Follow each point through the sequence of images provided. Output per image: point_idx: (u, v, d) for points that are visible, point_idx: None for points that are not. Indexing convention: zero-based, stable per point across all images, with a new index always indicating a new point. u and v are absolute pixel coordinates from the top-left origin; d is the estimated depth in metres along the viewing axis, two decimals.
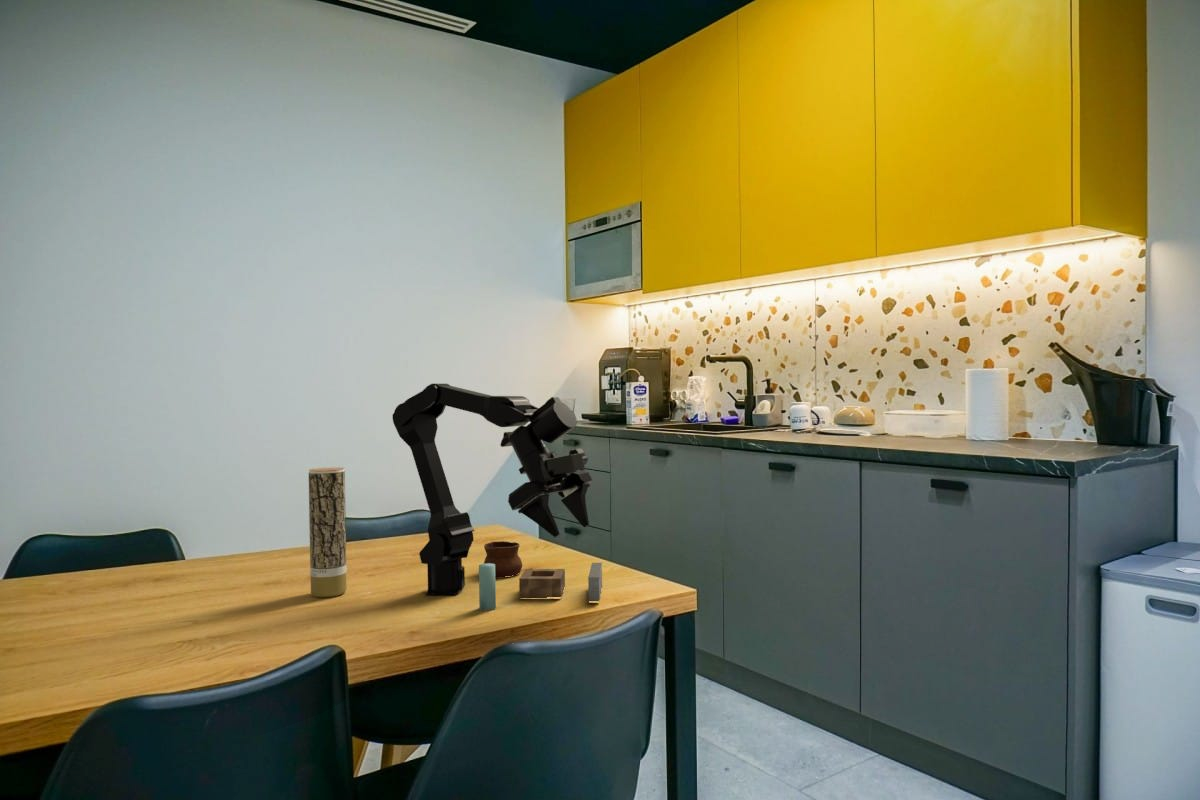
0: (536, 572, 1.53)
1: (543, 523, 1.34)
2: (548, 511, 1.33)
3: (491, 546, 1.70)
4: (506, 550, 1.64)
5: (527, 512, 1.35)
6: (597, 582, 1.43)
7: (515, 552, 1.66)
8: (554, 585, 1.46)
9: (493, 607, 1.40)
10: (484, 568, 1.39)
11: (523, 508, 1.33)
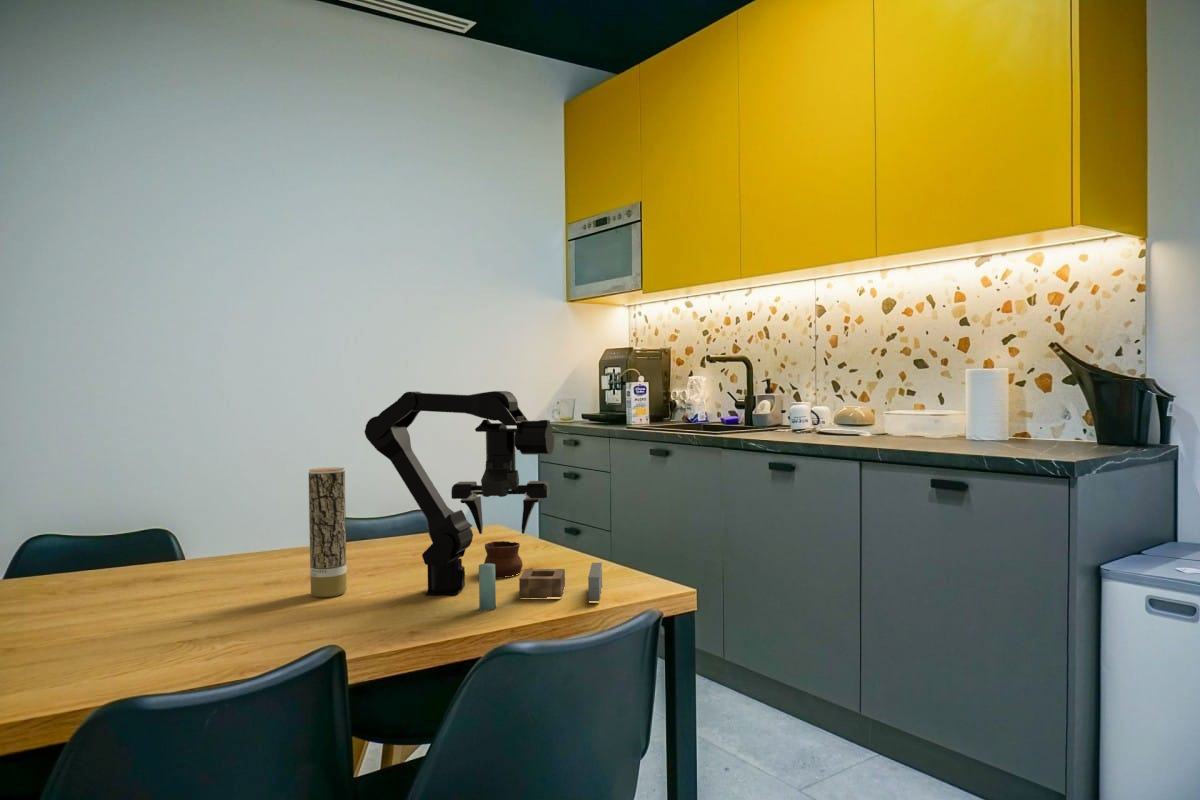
0: (536, 572, 1.53)
1: None
2: (475, 512, 1.50)
3: (491, 546, 1.70)
4: (506, 550, 1.64)
5: None
6: (597, 582, 1.43)
7: (516, 552, 1.66)
8: (554, 585, 1.46)
9: (493, 607, 1.40)
10: (484, 568, 1.39)
11: None
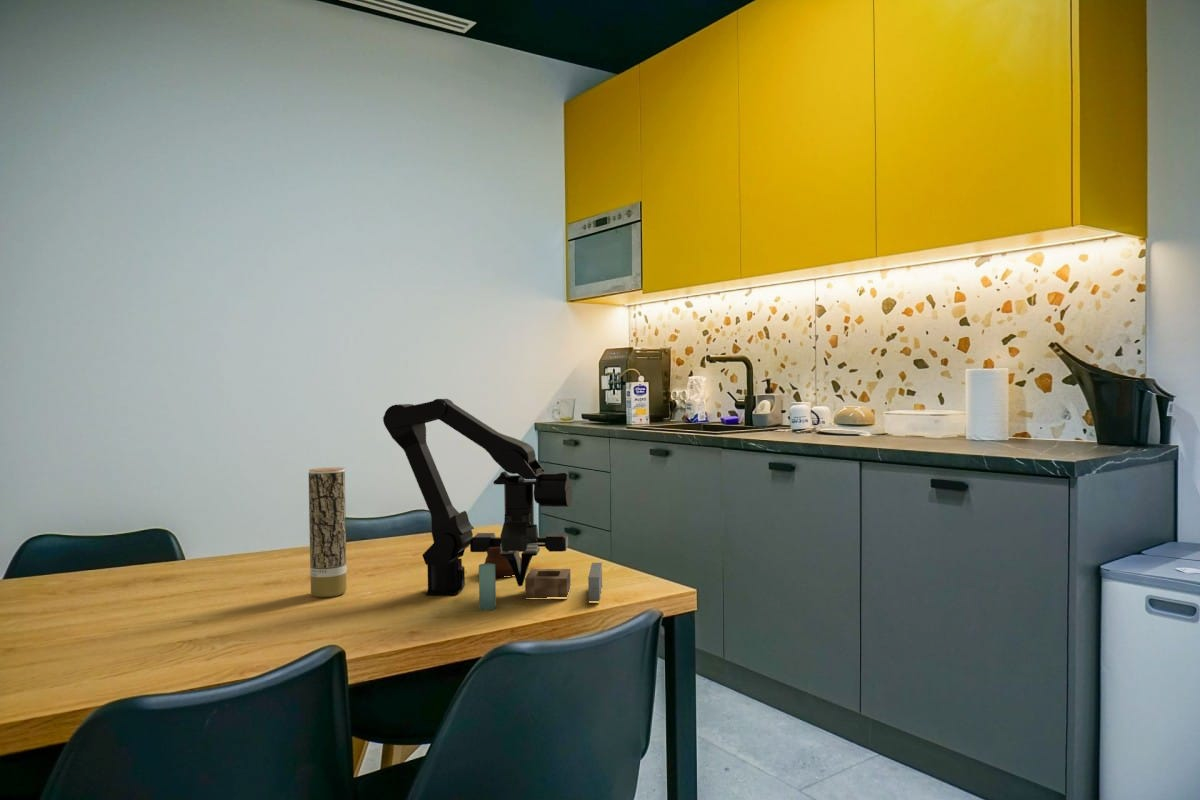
0: (542, 572, 1.53)
1: None
2: (514, 565, 1.49)
3: None
4: None
5: None
6: (597, 582, 1.43)
7: None
8: (560, 585, 1.46)
9: (493, 607, 1.40)
10: (484, 568, 1.39)
11: None
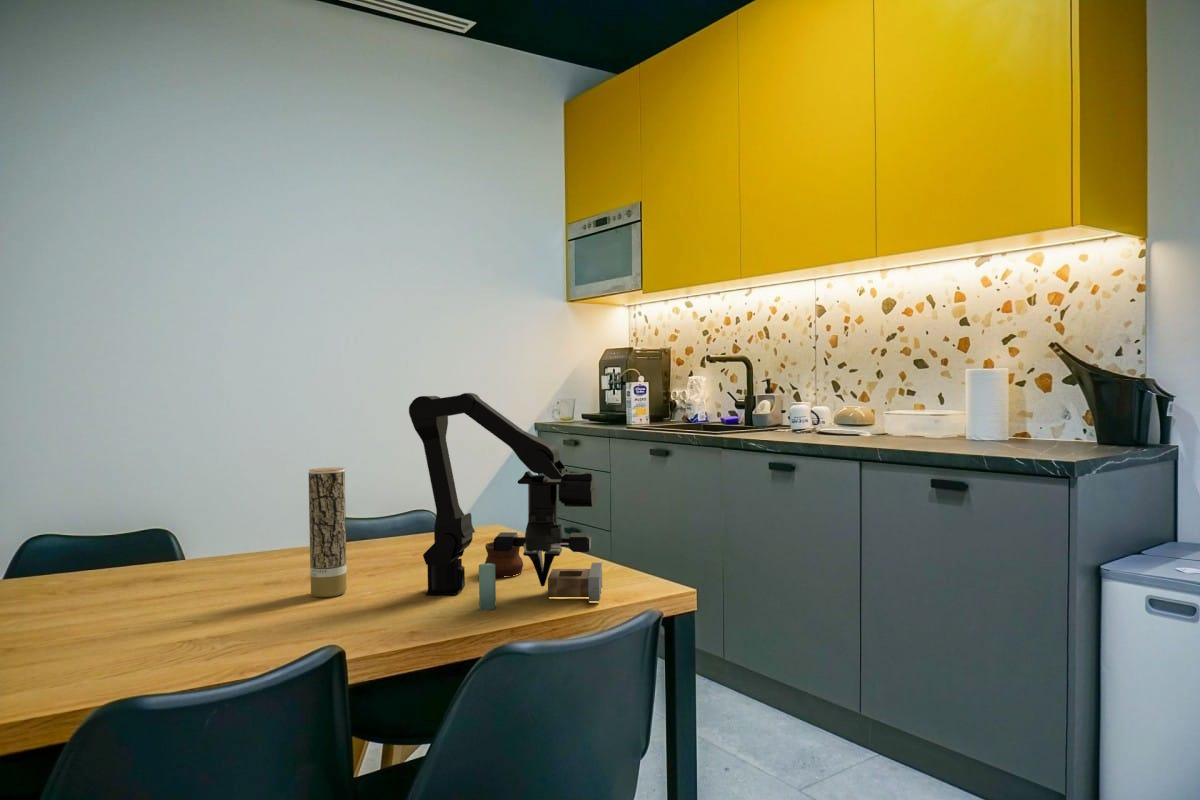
0: (563, 572, 1.52)
1: None
2: (537, 565, 1.49)
3: (493, 546, 1.70)
4: None
5: None
6: (597, 582, 1.43)
7: (516, 552, 1.66)
8: (583, 585, 1.46)
9: (493, 607, 1.40)
10: (484, 568, 1.39)
11: None
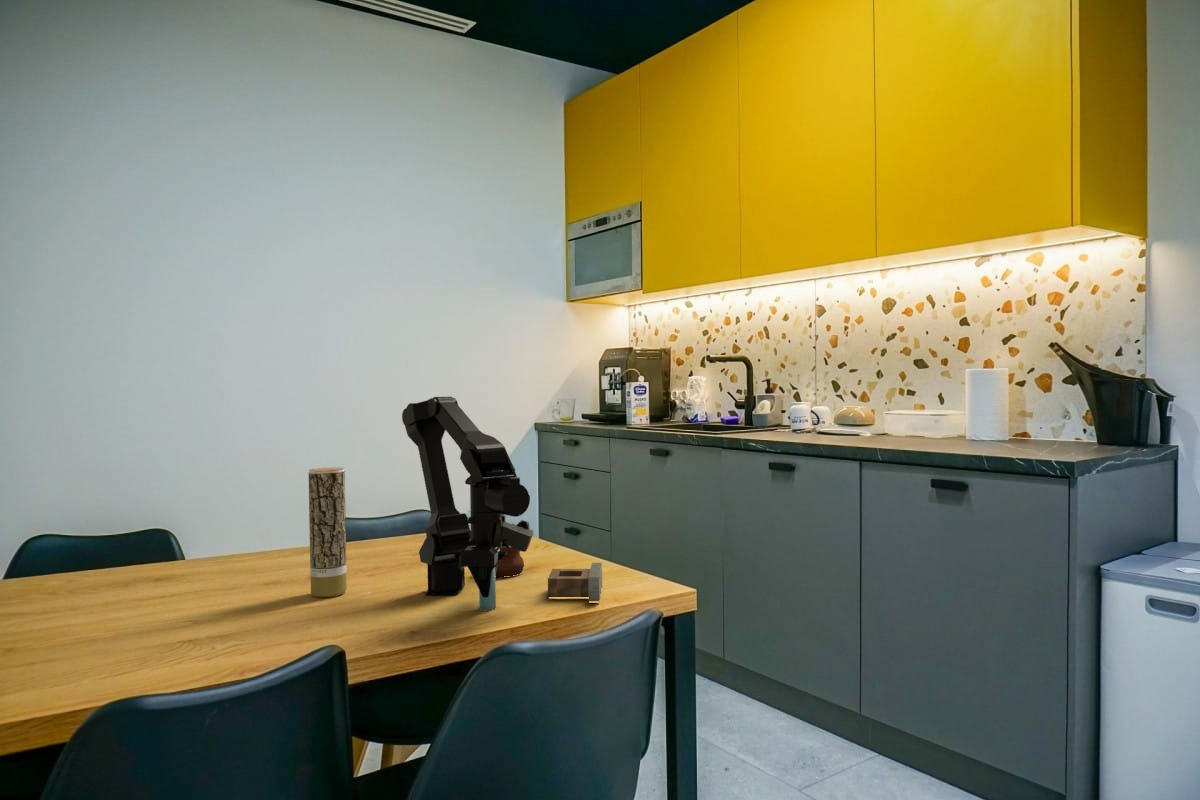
0: (563, 572, 1.52)
1: (480, 582, 1.38)
2: (491, 574, 1.38)
3: None
4: (508, 550, 1.65)
5: (471, 566, 1.37)
6: (597, 582, 1.43)
7: (517, 552, 1.67)
8: (583, 585, 1.46)
9: (493, 607, 1.40)
10: None
11: None
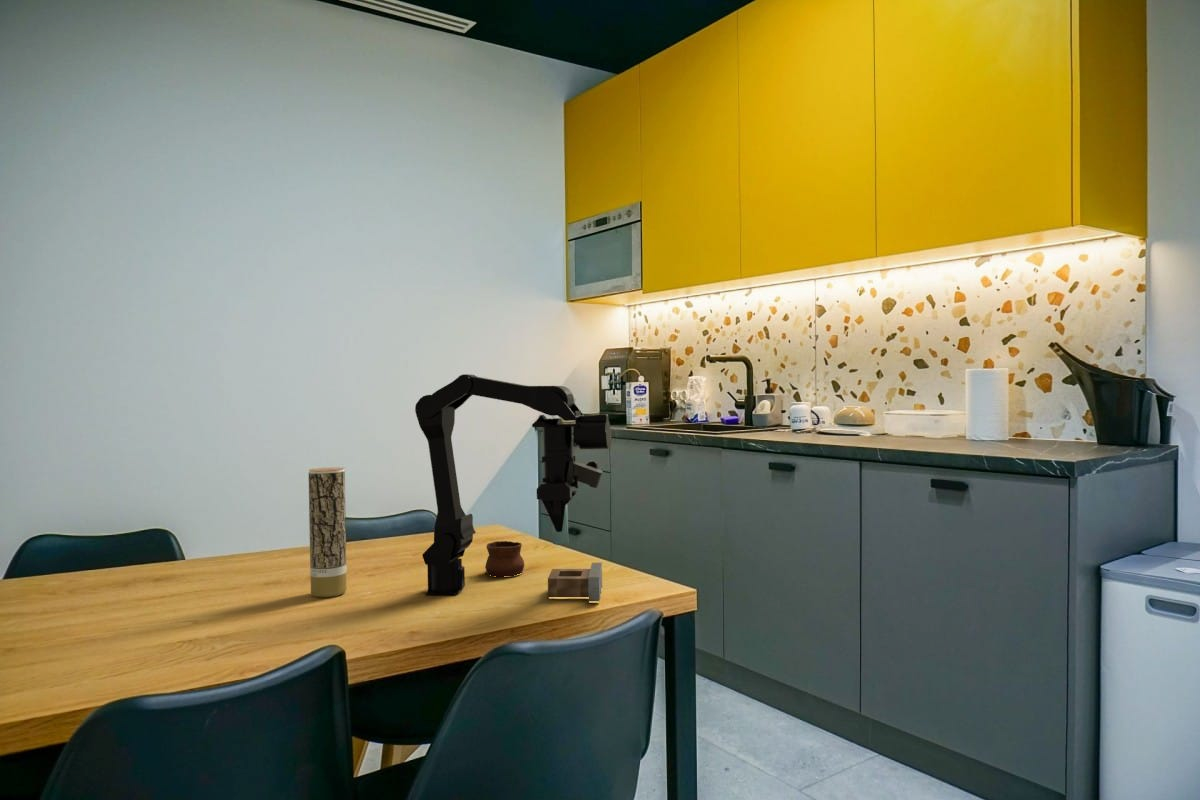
0: (563, 572, 1.52)
1: (554, 517, 1.46)
2: (564, 510, 1.46)
3: (494, 546, 1.70)
4: (507, 550, 1.64)
5: (546, 502, 1.45)
6: (597, 582, 1.43)
7: (517, 552, 1.66)
8: (583, 585, 1.46)
9: (566, 541, 1.48)
10: None
11: (549, 499, 1.43)
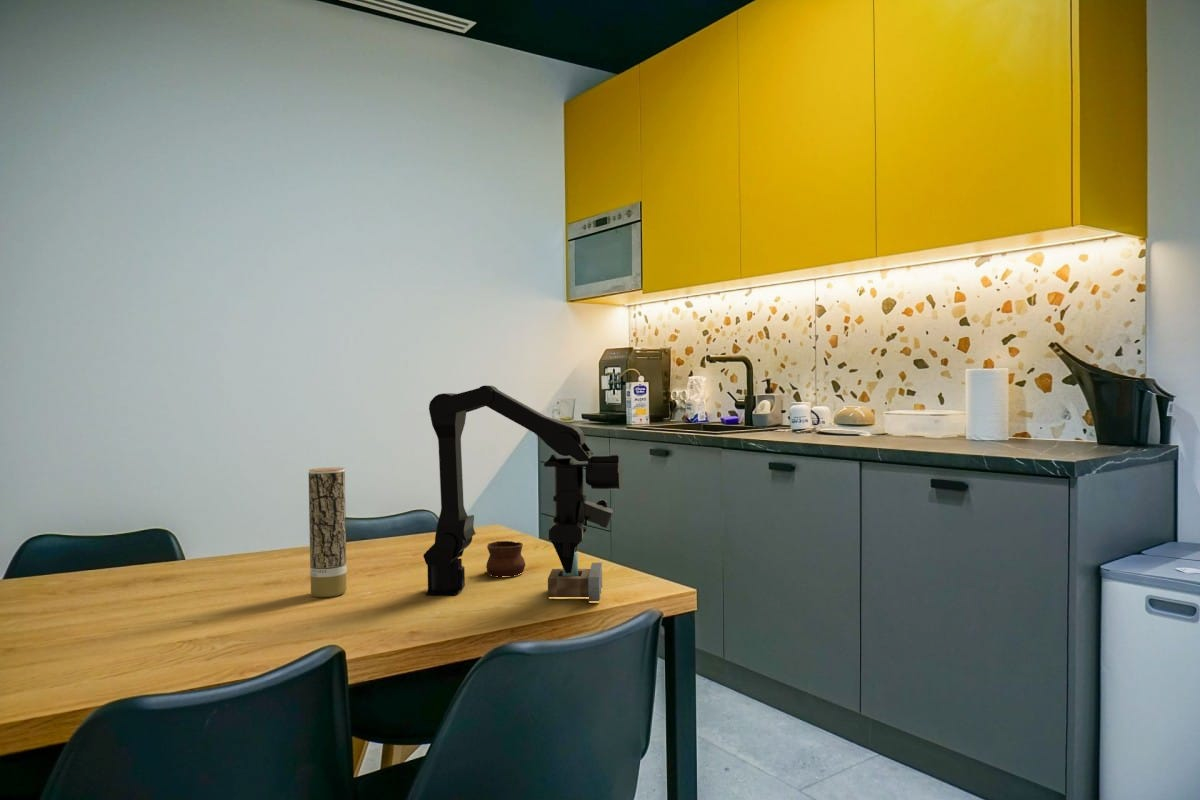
0: None
1: (564, 558, 1.45)
2: None
3: (495, 546, 1.70)
4: (507, 550, 1.64)
5: (556, 543, 1.45)
6: (597, 582, 1.43)
7: (518, 552, 1.66)
8: (583, 585, 1.46)
9: None
10: None
11: (559, 541, 1.43)
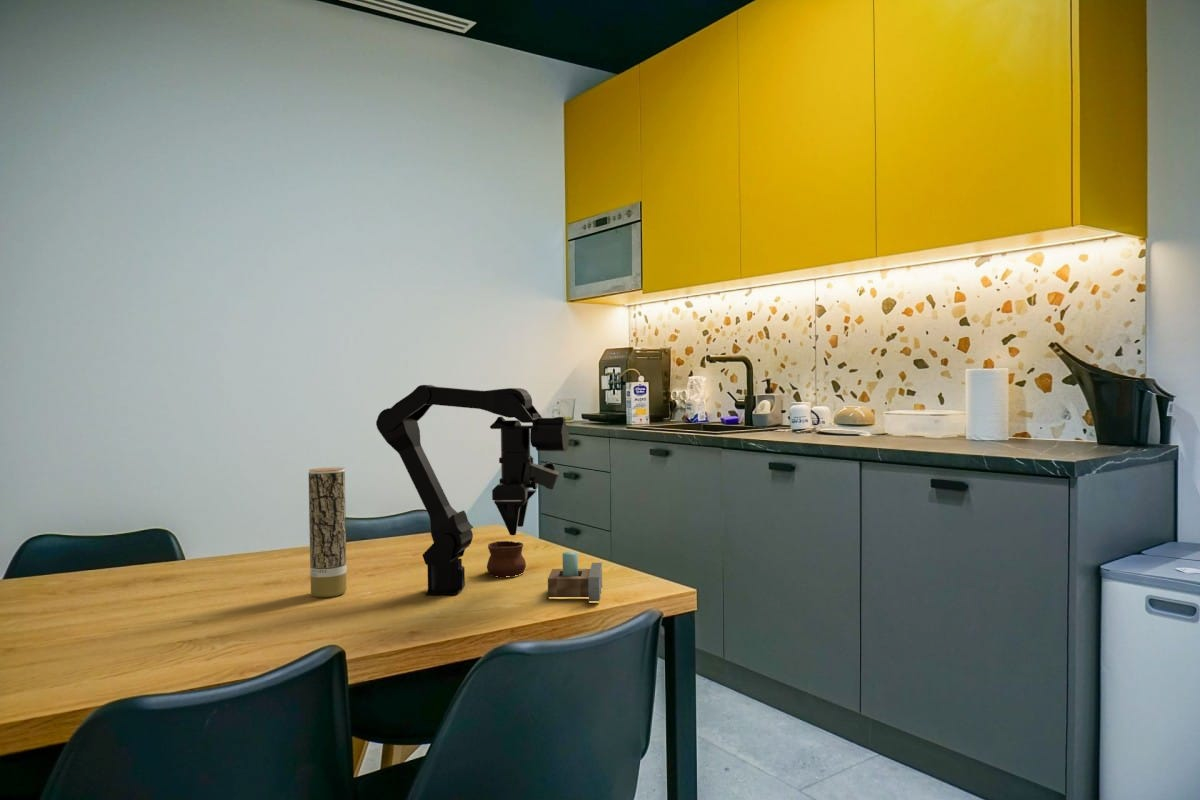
0: None
1: (508, 520, 1.45)
2: None
3: (495, 546, 1.70)
4: (509, 550, 1.64)
5: (500, 505, 1.44)
6: (597, 582, 1.43)
7: (519, 552, 1.66)
8: (583, 585, 1.46)
9: None
10: (568, 556, 1.49)
11: (502, 502, 1.42)
